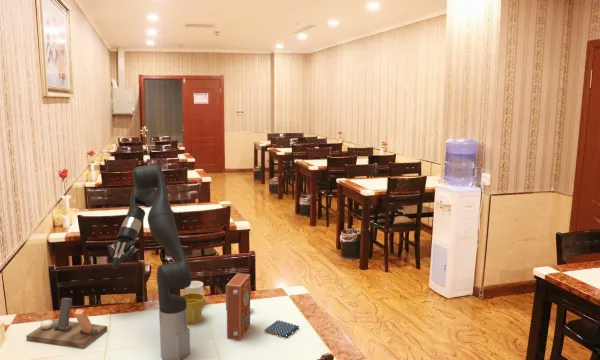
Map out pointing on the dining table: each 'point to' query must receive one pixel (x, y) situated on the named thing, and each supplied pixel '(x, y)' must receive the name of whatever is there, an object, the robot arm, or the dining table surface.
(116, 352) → the dining table surface
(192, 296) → the plant pot
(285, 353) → the dining table surface
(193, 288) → the white cup
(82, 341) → the switch board
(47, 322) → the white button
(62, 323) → the long grey beam
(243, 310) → the control panel
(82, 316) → the orange block
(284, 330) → the woven mat
